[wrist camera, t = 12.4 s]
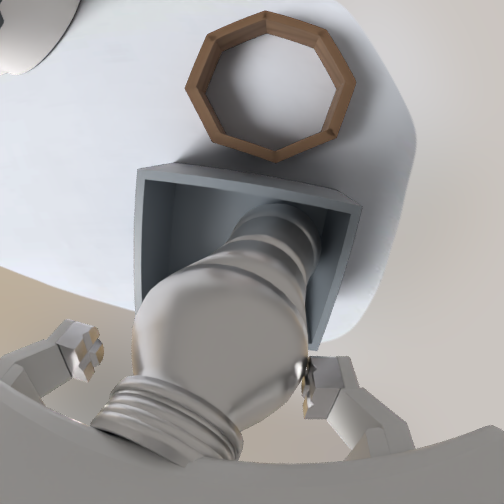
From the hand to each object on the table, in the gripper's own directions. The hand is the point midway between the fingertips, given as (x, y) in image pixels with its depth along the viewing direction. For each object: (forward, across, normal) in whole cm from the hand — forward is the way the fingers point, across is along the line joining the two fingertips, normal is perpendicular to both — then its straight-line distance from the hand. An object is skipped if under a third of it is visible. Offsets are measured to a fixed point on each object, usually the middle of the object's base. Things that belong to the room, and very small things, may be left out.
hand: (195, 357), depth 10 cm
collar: (+16, -2, -12) cm, 20 cm away
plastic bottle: (+15, -4, 0) cm, 15 cm away
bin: (+16, -1, +1) cm, 16 cm away
